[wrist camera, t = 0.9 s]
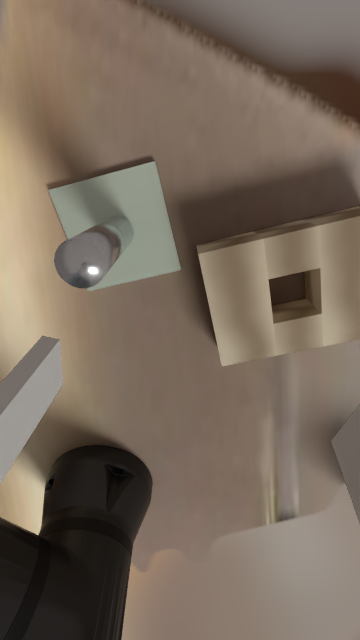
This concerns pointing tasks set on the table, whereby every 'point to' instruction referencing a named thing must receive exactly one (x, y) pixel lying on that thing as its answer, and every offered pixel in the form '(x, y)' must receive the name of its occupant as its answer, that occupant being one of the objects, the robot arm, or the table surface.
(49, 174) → the table surface
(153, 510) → the table surface
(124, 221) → the peg
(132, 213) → the mat
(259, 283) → the block
